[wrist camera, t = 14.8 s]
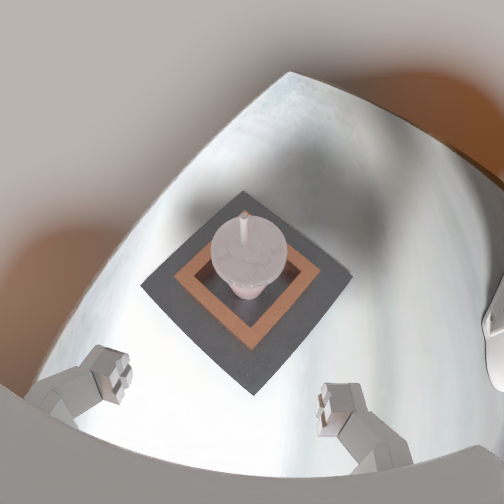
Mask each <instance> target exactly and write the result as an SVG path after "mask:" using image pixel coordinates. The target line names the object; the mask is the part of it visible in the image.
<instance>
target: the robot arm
mask: <svg viewBox="0 0 504 504" xmlns="http://www.w3.org/2000/svg"><path fill="white" fill-rule="evenodd" d="M482 328H483V332H484V336H485V340H486V362H487V369H488V374H489V377H490V380H491V382H492V384H493V385H494V387H495V388H496V389H497V390H499V391H501V392H504V275H503V278H502V280H501V282H500V285H499V287H498V289H497V292H496V294H495V296H494V298H493V300H492V302H491V304H490V306H489V308H488V310H487V312H486V314H485V316H484V318H483V321H482ZM129 361H130V359H129V355H128V354H126V353H123V352H120V351H117V350H114V349H110V348H107V347H104V346H101V345H96V346H95V347H94V348H93V349H92V350H91V352H90V353H89V354H88V356H87V357H86V358H85V359H84V361H83V362H82V363H81V365H80V366H79V367H78V366H75V367H73V368H70V369H68V370H65V371H63V372H60V373H58V374H55V375H53V376H50V377H48V378H45V379H43V380H40V381H38V382H36V383H35V385H34V386H33V387H32V388H31V390H30V391H29V392H28V394H27V395H26V396H25V398H24V399H22V398H20V397H19V396H17V395H16V394H14V393H13V392H11V391H10V390H8V389H7V388H5V387H4V386H3V385H1V384H0V504H504V466H503V464H502V462H501V460H500V458H499V457H497V456H496V455H495V454H493V453H492V452H490V451H489V450H487V449H486V448H484V447H482V446H480V445H474V446H471V447H468V448H465V449H463V450H460V451H457V452H454V453H451V454H448V455H445V456H442V457H439V458H435V459H432V460H428V461H424V462H421V463H417V464H413V460H412V457H411V454H410V451H409V447H408V444H407V442H406V441H405V440H404V439H403V438H402V437H400V436H399V435H398V434H397V433H396V432H395V431H393V430H392V429H391V428H390V427H389V426H387V425H386V424H385V423H384V422H383V421H382V420H380V419H379V418H378V417H377V416H376V415H375V414H374V413H372V412H368V409H367V406H366V403H365V399H364V396H363V392H362V389H361V386H360V384H359V383H324V384H323V386H322V388H321V392H322V393H321V394H320V395H318V398H317V400H316V405H315V414H316V417H317V418H318V419H319V420H318V422H317V433H318V437H337V438H338V439H339V441H340V442H341V443H342V444H343V446H344V447H345V448H346V449H347V451H348V452H349V453H350V454H351V455H352V457H353V458H354V459H355V460H356V461H357V463H358V464H359V465H358V466H357V468H356V469H355V470H354V471H353V472H352V473H351V474H350V475H345V476H333V477H313V478H283V477H263V476H250V475H240V474H232V473H224V472H218V471H212V470H206V469H200V468H195V467H190V466H185V465H181V464H177V463H172V462H168V461H165V460H161V459H157V458H154V457H150V456H147V455H143V454H140V453H137V452H134V451H131V450H128V449H125V448H122V447H119V446H117V445H114V444H111V443H109V442H106V441H104V440H101V439H99V438H96V437H94V436H92V435H89V434H87V433H85V432H83V431H80V430H79V428H78V426H77V424H76V422H75V421H74V418H75V417H77V416H79V415H80V414H82V413H83V412H85V411H87V410H88V409H90V408H91V407H93V406H95V405H96V404H98V403H99V402H101V401H102V399H103V400H106V401H109V402H112V403H115V404H118V405H119V404H120V402H121V400H122V399H123V397H124V395H125V393H124V389H126V388H128V387H129V385H130V383H131V380H132V368H131V366H130V365H129V364H128V362H129Z"/></svg>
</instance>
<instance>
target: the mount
mask: <svg viewBox="0 0 504 504" xmlns="http://www.w3.org/2000/svg"><path fill="white" fill-rule="evenodd" d="M242 213H247V214H248V215H251V216H258V217H262V218H264V219H267V220H269V221H270V222H272V223H273V224H274V225H276V226H277V227H278V228H279V229H280V231H281V232H282V234H283V235H284V237H285V240H286V243H287V260H286V263H285V266H284V269H283V270H282V272H281V274H280V275H279V276H278V277H277V278H276V279H275V280H274V281H273V282H272V283H270V284H268V285H267V286H266V287H265V289H264V290H263V291H262V292H261V294H260V295H259V296H258V297H256V298H254V299H250V300H245V299H242V298H239V297H238V296H237V295H236V294H235V293H234V292H233V290H232V289H231V287H230V286H229V284H228V283H227V282H226V281H224V280H223V279H222V278H221V277H220V276H219V275H218V273H217V272H216V270H215V268H214V266H213V264H212V258H211V243H212V240H213V237H214V235H215V233H216V232H217V230H218V229H219V228H220V227H221V226H222V225H223V224H224V223H226V222H227V221H229V220H231V219H233V218H236V217H239V216H240V215H241V214H242ZM352 277H353V276H351V275H350V274H349V273H348V272H347V271H345V270H344V269H343V268H342V267H340V266H339V265H338V264H337V263H336V262H334V261H333V260H332V259H331V258H329V257H328V256H327V255H326V254H324V253H323V252H322V251H321V250H319V249H318V248H317V247H316V246H314V245H313V244H312V243H311V242H309V241H308V240H307V239H306V238H304V237H303V236H302V235H300V234H299V233H298V232H297V231H295V230H294V229H293V228H291V227H290V226H289V225H288V224H286V223H285V222H284V221H282V220H281V219H280V218H278V217H277V216H276V215H274V214H273V213H272V212H271V211H269V210H268V209H267V208H265V207H264V206H263V205H261V204H260V203H259V202H257V201H256V200H255V199H253V198H252V197H251V196H249V195H248V194H246V193H245V192H244V191H242V192H241V193H240V194H239V195H238V196H237V197H235V198H234V199H233V200H232V201H231V202H230V203H229V204H227V205H226V206H225V207H224V208H223V209H222V210H221V211H219V212H218V213H217V214H216V215H215V216H214V217H213V218H212V219H210V220H209V221H208V222H207V223H206V224H205V225H204V226H203V227H202V228H201V229H199V230H198V231H197V232H196V233H195V234H194V235H193V236H192V237H191V238H190V239H188V240H187V241H186V242H185V243H184V244H183V245H182V246H181V247H180V248H179V249H178V250H177V251H176V252H175V253H173V254H172V255H171V256H170V257H169V258H168V259H167V260H166V261H165V262H164V263H163V264H162V265H161V266H160V267H159V268H158V269H157V270H156V271H155V272H154V273H152V274H151V275H150V276H149V277H148V278H147V279H146V280H145V281H144V282H143V283H142V284H141V285H140V286H141V287H142V288H143V289H144V290H145V291H146V293H147V294H148V295H149V296H150V297H151V298H152V299H153V300H154V301H155V302H156V304H157V305H158V306H159V307H160V308H161V309H162V310H163V311H164V312H165V313H166V314H167V315H168V316H169V317H170V318H171V319H172V321H173V322H174V323H175V324H176V325H177V326H178V327H179V328H180V329H181V330H182V331H183V332H184V333H185V334H186V335H187V336H188V337H189V338H190V339H191V340H192V341H193V342H194V343H195V344H196V345H197V346H198V347H200V348H201V349H202V350H203V351H204V352H205V353H206V354H207V355H208V356H209V357H210V358H211V359H212V360H213V361H214V362H215V363H217V364H218V365H219V366H220V367H221V368H222V369H223V370H224V371H225V372H226V373H228V374H229V375H230V376H231V377H232V378H233V379H234V380H236V381H237V382H238V383H239V384H240V385H241V386H242V387H244V388H245V389H246V390H247V391H248V392H250V393H251V394H252V395H253V396H254V395H255V394H256V393H257V392H258V391H259V390H260V389H261V388H262V387H263V386H264V385H265V384H266V382H267V381H268V380H269V379H270V378H271V377H272V376H273V375H274V374H275V373H276V371H277V370H278V369H279V368H280V367H281V366H282V365H283V364H284V362H285V361H286V360H287V359H288V358H289V357H290V356H291V354H292V353H293V352H294V351H295V350H296V349H297V347H298V346H299V345H300V344H301V343H302V342H303V340H304V339H305V338H306V337H307V336H308V334H309V333H310V332H311V331H312V329H313V328H314V327H315V326H316V324H317V323H318V322H319V321H320V319H321V318H322V317H323V316H324V314H325V313H326V312H327V311H328V309H329V308H330V307H331V305H332V304H333V303H334V301H335V300H336V299H337V298H338V296H339V295H340V294H341V292H342V291H343V290H344V288H345V287H346V285H347V284H348V283H349V281H350V280H351V279H352Z"/></svg>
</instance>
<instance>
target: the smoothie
mask: <svg viewBox="0 0 504 504" xmlns="http://www.w3.org/2000/svg"><path fill="white" fill-rule="evenodd" d="M211 258H212V264H213V266H214V268H215V270H216V272H217V273H218V275H219V276H220V277H221V278H222V279H223V280H224V281H226V282H227V283H228V284H229V286H230V287H231V289H232V290H233V292H234V293H235V294H236V295H237V296H238V297H239V298H242V299H245V300H250V299H254V298H256V297H258V296H259V295H260V294H261V292H262V291H263V290H264V289H265V287H266V286H267V285H268V284H270V283H272V282H273V281H274V280H275V279H276V278H277V277H278V276H279V275H280V274H281V272H282V270H283V269H284V266H285V263H286V260H287V243H286V240H285V237H284V235H283V234H282V232H281V231H280V229H279V228H278V227H277V226H276V225H274V224H273V223H272V222H270V221H269V220H267V219H264V218H262V217H258V216H251V215H248V214H247V213H242V214H241V215H240V216H239V217H236V218H233V219H231V220H229V221H227V222H226V223H224V224H223V225H222V226H221V227H220V228H219V229H218V230H217V232H216V233H215V235H214V237H213V240H212V243H211Z"/></svg>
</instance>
